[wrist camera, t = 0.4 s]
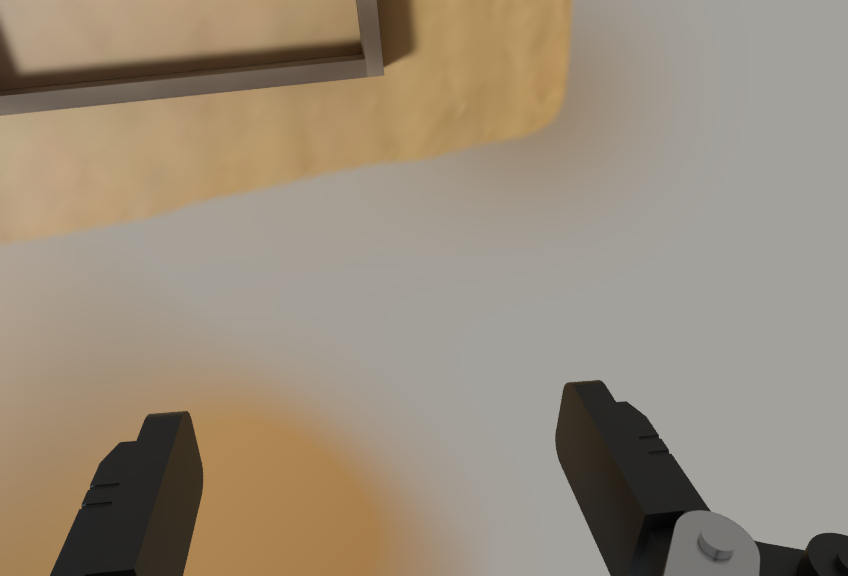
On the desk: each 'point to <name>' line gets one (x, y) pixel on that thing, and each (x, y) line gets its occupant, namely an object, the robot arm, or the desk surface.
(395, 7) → the desk surface
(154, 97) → the walnut frame
